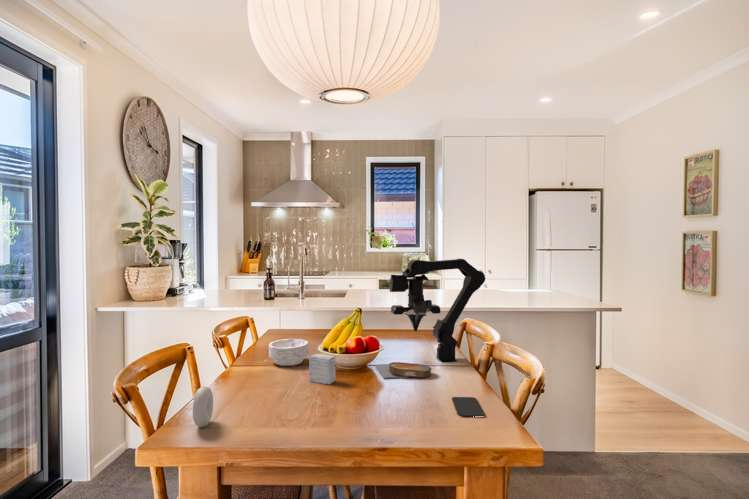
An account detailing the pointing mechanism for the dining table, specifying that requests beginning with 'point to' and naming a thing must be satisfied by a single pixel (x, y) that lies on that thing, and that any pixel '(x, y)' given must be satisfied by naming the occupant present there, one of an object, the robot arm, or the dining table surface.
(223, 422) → the dining table surface
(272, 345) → the marble bowl
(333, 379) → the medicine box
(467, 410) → the phone
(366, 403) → the dining table surface
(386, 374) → the tin mat
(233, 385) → the dining table surface
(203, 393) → the grey marbled disc
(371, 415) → the dining table surface
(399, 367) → the tin
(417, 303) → the robot arm
